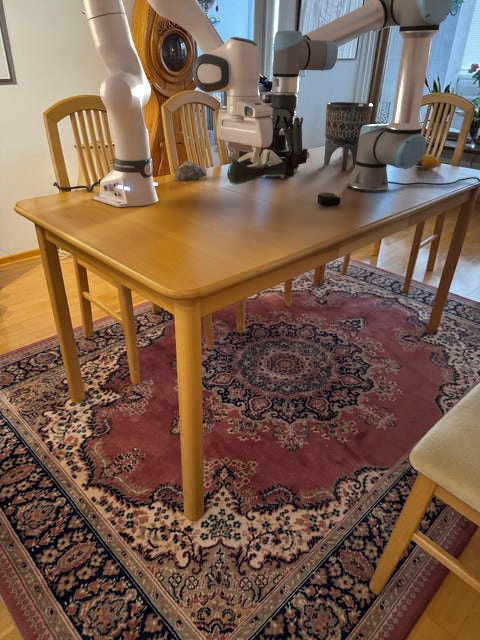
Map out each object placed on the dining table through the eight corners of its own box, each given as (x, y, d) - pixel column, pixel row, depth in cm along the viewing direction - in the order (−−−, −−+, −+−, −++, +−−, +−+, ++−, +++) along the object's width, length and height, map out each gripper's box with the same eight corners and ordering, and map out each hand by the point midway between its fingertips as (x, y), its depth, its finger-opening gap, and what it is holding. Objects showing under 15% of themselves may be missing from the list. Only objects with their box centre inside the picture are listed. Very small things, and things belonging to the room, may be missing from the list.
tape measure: (320, 209, 151) (321, 197, 149) (314, 203, 157) (315, 192, 155) (339, 208, 152) (341, 197, 150) (333, 202, 158) (334, 191, 156)
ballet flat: (298, 176, 143) (300, 148, 139) (240, 188, 129) (241, 157, 125) (279, 171, 148) (281, 144, 144) (222, 182, 134) (222, 153, 130)
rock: (199, 174, 190) (198, 158, 187) (211, 178, 185) (211, 162, 181) (172, 179, 183) (171, 162, 179) (184, 183, 177) (183, 166, 174)
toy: (415, 162, 205) (409, 155, 218) (417, 175, 208) (411, 168, 221) (441, 154, 202) (433, 147, 215) (443, 168, 205) (435, 160, 218)
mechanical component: (240, 120, 182) (283, 115, 202) (239, 174, 192) (280, 164, 212) (283, 126, 170) (325, 120, 190) (280, 183, 180) (320, 171, 200)
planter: (313, 167, 208) (319, 103, 195) (331, 160, 222) (338, 101, 209) (353, 173, 199) (362, 107, 185) (369, 166, 213) (379, 104, 199)
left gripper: (210, 105, 129) (212, 156, 136) (259, 110, 115) (258, 167, 122) (227, 103, 132) (228, 153, 139) (277, 109, 119) (275, 163, 126)
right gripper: (251, 91, 136) (249, 169, 148) (302, 96, 123) (295, 182, 134) (269, 90, 140) (266, 167, 152) (320, 95, 127) (312, 178, 138)
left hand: (242, 160), depth 131 cm, fingers open, 8 cm apart
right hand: (280, 174), depth 143 cm, fingers closed on ballet flat, 8 cm apart
